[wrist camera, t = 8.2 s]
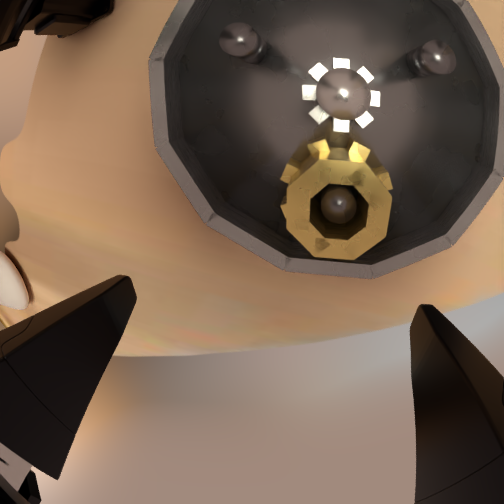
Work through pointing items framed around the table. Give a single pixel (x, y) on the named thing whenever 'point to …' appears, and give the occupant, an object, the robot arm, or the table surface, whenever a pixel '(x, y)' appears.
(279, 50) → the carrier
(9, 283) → the flower in vase
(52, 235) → the table surface
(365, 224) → the planet gear
